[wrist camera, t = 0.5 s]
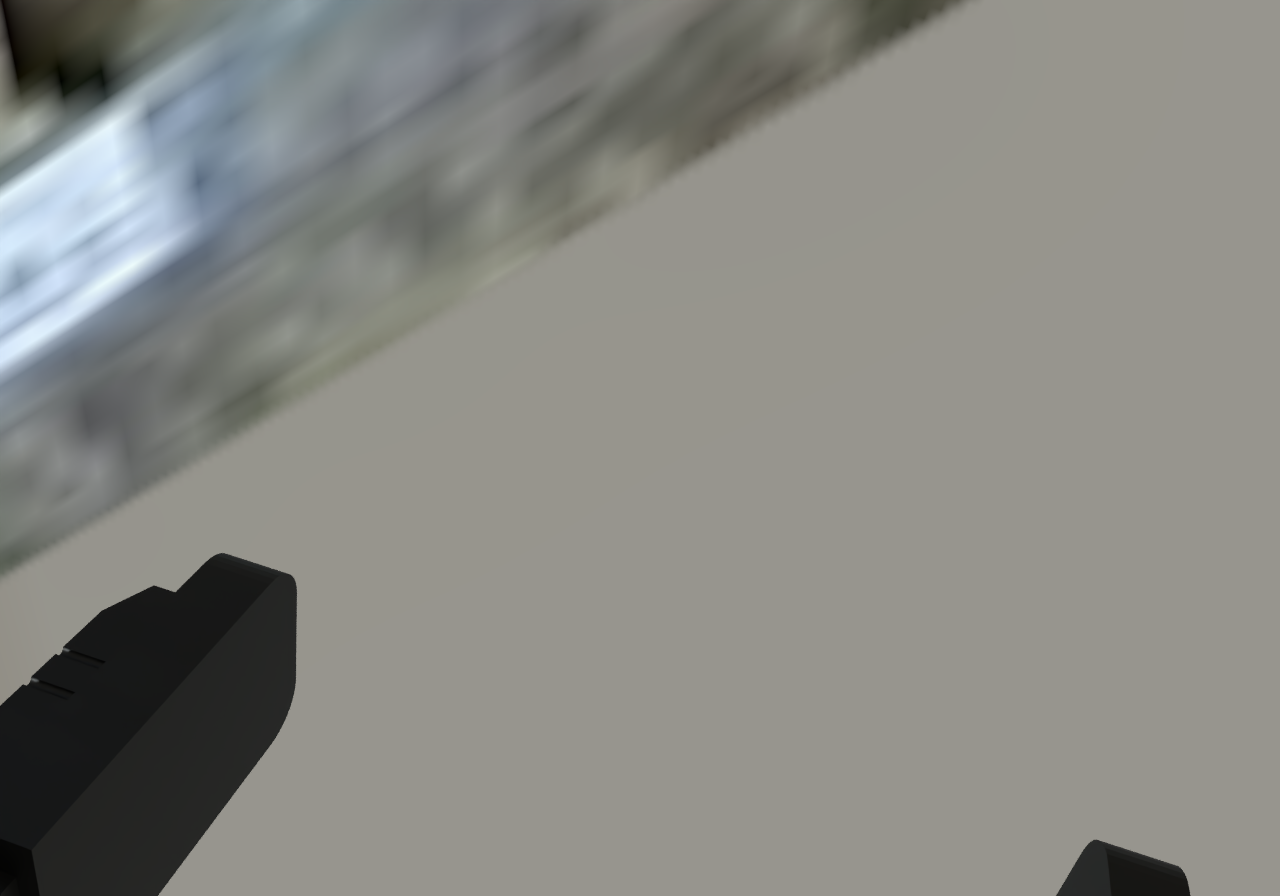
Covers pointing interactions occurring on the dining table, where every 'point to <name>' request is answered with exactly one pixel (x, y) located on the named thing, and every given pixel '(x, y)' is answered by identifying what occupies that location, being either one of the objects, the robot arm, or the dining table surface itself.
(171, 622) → the robot arm
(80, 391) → the dining table surface
